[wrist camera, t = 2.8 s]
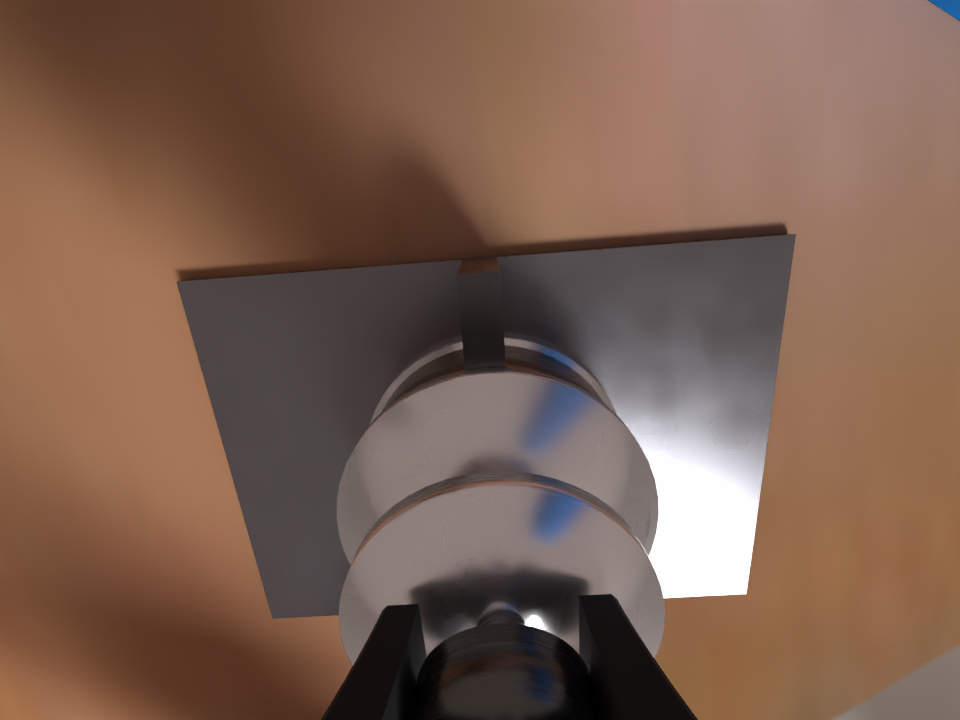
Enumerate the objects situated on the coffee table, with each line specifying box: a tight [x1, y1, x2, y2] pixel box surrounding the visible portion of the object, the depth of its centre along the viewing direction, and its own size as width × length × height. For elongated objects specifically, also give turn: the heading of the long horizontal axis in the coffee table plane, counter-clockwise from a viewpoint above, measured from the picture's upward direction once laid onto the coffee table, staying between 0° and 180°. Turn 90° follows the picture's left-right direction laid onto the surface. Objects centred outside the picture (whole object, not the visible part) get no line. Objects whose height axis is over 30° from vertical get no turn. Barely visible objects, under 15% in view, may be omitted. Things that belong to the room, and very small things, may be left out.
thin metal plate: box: [177, 234, 796, 618], centre depth 14 cm, size 13×18×4 cm
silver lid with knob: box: [339, 471, 665, 720], centre depth 8 cm, size 6×6×3 cm
